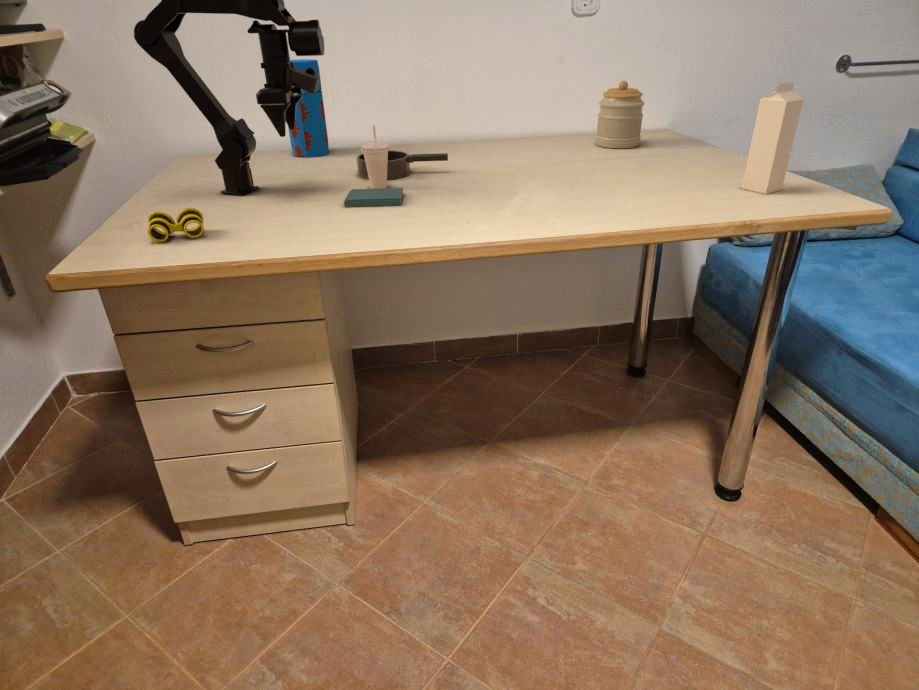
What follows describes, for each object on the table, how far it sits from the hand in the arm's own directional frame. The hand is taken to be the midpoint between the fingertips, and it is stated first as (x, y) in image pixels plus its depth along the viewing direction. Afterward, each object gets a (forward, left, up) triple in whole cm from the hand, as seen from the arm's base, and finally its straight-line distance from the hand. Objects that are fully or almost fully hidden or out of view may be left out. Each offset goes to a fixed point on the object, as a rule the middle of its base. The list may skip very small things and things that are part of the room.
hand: (287, 132), depth 136 cm
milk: (+27, -104, -13) cm, 108 cm away
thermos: (+38, +18, -13) cm, 44 cm away
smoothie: (+7, -18, -13) cm, 24 cm away
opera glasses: (-35, +3, -13) cm, 38 cm away
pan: (+20, -14, -13) cm, 27 cm away
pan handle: (+23, -24, -10) cm, 35 cm away
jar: (+70, -68, -13) cm, 98 cm away
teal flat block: (-4, -22, -13) cm, 26 cm away
